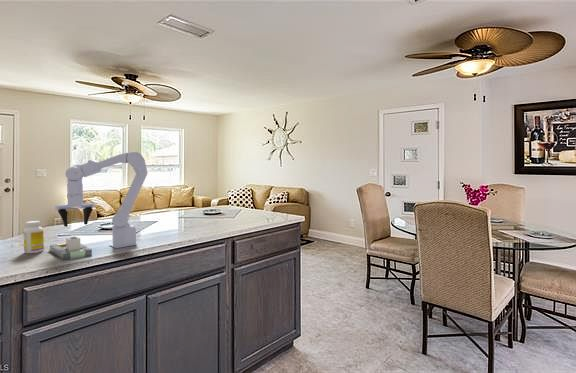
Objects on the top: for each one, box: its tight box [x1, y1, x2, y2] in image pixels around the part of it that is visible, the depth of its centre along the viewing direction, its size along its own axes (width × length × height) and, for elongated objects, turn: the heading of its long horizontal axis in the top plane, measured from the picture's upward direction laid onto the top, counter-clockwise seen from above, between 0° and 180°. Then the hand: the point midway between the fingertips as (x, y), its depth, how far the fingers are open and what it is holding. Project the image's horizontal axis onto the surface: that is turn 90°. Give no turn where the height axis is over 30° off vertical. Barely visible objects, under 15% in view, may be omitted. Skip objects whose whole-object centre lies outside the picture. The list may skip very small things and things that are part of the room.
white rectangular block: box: [65, 236, 81, 251], centre depth 136 cm, size 4×4×8 cm
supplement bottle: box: [22, 220, 45, 254], centre depth 140 cm, size 7×7×13 cm
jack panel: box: [49, 242, 93, 261], centre depth 139 cm, size 10×20×2 cm, turn 48°
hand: (75, 225), depth 146 cm, fingers open, 7 cm apart
